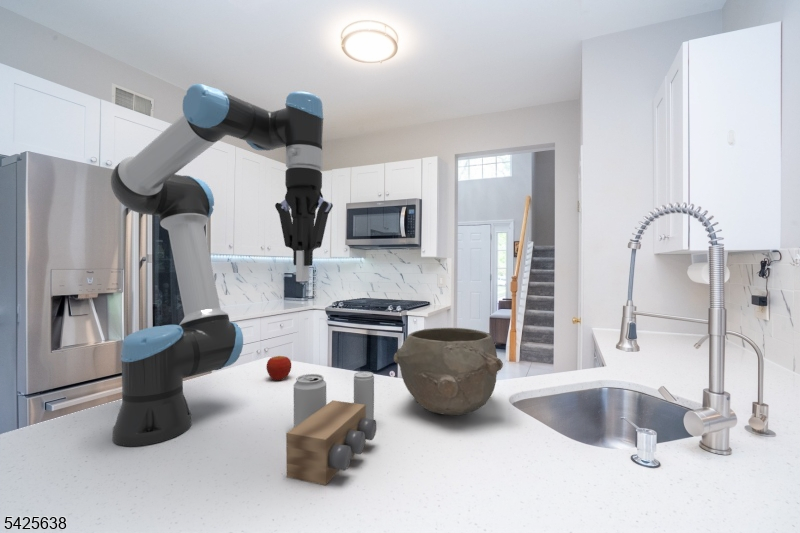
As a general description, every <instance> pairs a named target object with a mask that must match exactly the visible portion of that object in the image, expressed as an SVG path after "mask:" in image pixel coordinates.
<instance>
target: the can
mask: <svg viewBox="0 0 800 533" xmlns="http://www.w3.org/2000/svg"><path fill="white" fill-rule="evenodd" d="M325 405H327V382H326V380H324V376H323V375H322V374H318V373H308V374H307V373H306V374H302V375H300V376H297V377H296V381H295V383H294V384H293V428H294V427H296V426H297V425H298V424H300V423H301V422H303V421H304V420H305V419H307V418H308V417H310V416H311V415H313V414H314V413H315V412H317V411H318V410H320V409H321V408H322V407H324V406H325Z"/></svg>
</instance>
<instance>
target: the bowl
mask: <svg viewBox="0 0 800 533" xmlns="http://www.w3.org/2000/svg"><path fill="white" fill-rule="evenodd" d="M393 361H394V363H396V364H398V365H399V369H400V373H401V378H402V380H403V383H404V385H405V387H406V388H407V391H408V392H409V393H410V394H411V397H412V398H413V399H414V400H415V402H416V403H418V404H419V405H421V407H423V408H425V410H428V411H429V412H432V413H436V414H439V415H447V416H462V415H465V414H469V413H473V412H475V411H477V410H479V409H480V408H482V407H484V406H485V405H486V404H487V403H488V401H489V400H490V399H491V397H492V395H493V393H494V390H495V387H496V383H497V375H498V372H499V371H500V370H502V369H503V366H504V363H503V360H501V358H499V357H498V354H497V349H496V344H495V342H494V338H493V337H492V335H490V334H489V333H488V332H485V331H483V330H477V329H472V328H466V327H465V328H463V327H433V328H424V329H421V330H420V329H419V330H415V331H413V332H411V333H409V334H408V335H407V336H406V338H405V340H404V342H403V343H402V345H401V346H400V348H397V351H396V352H395V353H394V355H393Z"/></svg>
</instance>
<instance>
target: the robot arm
mask: <svg viewBox="0 0 800 533" xmlns="http://www.w3.org/2000/svg"><path fill="white" fill-rule="evenodd" d="M323 110H324V109H323V102H322V99H321V98H320V97H319V96H317V95H315V94H314V93H311V92H308V91H304V90H303V91H299V90H298V91H297V90H296V91H292V92H290V93H289V94H288V95H287V96H286V100H285V108H282V109H278V110H274V111H270V110H267V109H265V108H263V107H259V106H257V105H255V104H252V103H250V102H248V101H245V100H244V99H240V98H238V97H236V96H234V95H231V94H229V93H226V92H224V91H222V90H221V89H219V88H217V87H211V86H208V85H205V84H202V83H195V84H191V86H190V87H188V88H187V90H186V95H184V96H183V100H182V112H183V114H181V116H180V117H178V119H176V120H175V121H174V122H173V123H172V124H170V125H169V126H168V127H167V128H166V129H165V130H163V131H162V132H161V133H160V134H159V135H158V136H157V137H155V138H154V139H153V140H152V141H151V142H150V143H149V144H148V145H146V147H144V148H143V149H142V150H140V151H139V152H138V153H137V154H136V155H135V156H129V157H125V158H124V159H122V160H121V161H120V162H118V164H117V165H116V166H115V167H114V168H113V170H112V173H111V176H110V185H111V186H110V187H111V190H112V192H113V194H114V196H115V197H116V199H117V200H118V201H119V203H121V205H123V206H124V207H125V208H127V209H129V210H130V211H132V212H135V213H138V214H141V215H149V216H156V217H157V216H158V219H159V224H160V227H162V228H163V229H164V230H167V232H168V236H169V242H170V247H171V252H172V257H173V264H174V267H175V273H176V278H177V284H178V288H179V293H180V294H179V295H180V299H181V305H182V310H183V315H184V317H183V319H182V320H181V322H179V324H165V325H161V326H159V325H157V326H152V327H147V328H144V329H143V328H142V329H140V330H136V331H134V332H132V333H130V334H129V335H127V336H126V337H125V338H124V339H123V341H122V347H121V348H122V349H121V355H120V360H121V380H122V381H121V386H122V387H121V392H122V394H121V396H122V398H121V399H122V402H121V406H120V408H119V411H118V414H117V417H116V419H115V420H116V421H115V424H114V425H113V427H112V441H113V443H114V444H115V445H119V446H124V447H139V446H140V447H141V446H148V445H153V444H157V443H161V442H165V441H167V440H170V439H173V438H175V437H179V436H180V435H182V434H183V433H186V431H188V430H189V429H190V428H191V426H192V413H191V410H190V409H189V406H188V402H187V400H186V398H185V394H184V390H183V386H184V385H183V383H184V381H183V379H187V378H189V377H193V376H197V375H201V374H205V373H209V372H213V371H218V370H221V369H224V368H226V367H229V366H231V365H233V364H235V363H236V362H237V361H238V360H239V358H240V355H241V354H242V352H243V347H244V335H243V334H244V333H243V331H242V329H241V327H240V326H239V325H238V323H236V322H235V321H234V322H233V321H231V320H230V316H229V313H227V312H226V311H224V310H223V309H222V308H221V304H220V299H219V295H218V289H217V285H216V280H215V276H214V271H213V265H212V260H211V256H210V251H209V247H208V246H209V245H208V242H207V237H206V232H205V226H206V225H207V223H208V222H209V218H210V217H211V216H212V214H213V212H214V208H213V207H214V206H215V198H214V194H213V192H212V190H211V188H210V186H209V185H208V184H207V183H206V182H205V181H203V180H202V179H199V178H194V177H193V176H191V175H181V174H176V173H178V172H179V171H181V170H182V169H183V168H184V167H186V166H187V165H189V164H190V163H191V162H192V161H194V160H195V159H196V158H198V157H199V156H200V155H202V154H203V153H204V152H206V150H208V149H209V148H210V147H212V146H213V145H214V144H216V143H217V142H219V141H220V140H222V139H223V138H224V137H226V136H230V137H233V138H236V139H239V140H243V141H244V142H246V143H247V144H248V145H249V146H250V147H251V148H252V149H254V150H256V151H274V150H276V149H280V148H284V147H285V167H286V168H287V169H286V170H285V175H284V176H285V181H284V183H285V187H286V193H285V195H284V199H283V200H282V201H281V202H276V203H275V205H274V206H275V209H276V211H277V212H278V216H279V220H280V227H281V230H282V236H283V241H284V242H283V243H284V246H285V248H290V249H291V250H292V251H293V255H292V257H293V258H292V259H293V261H292V262H293V266H295V271H296V272H295V281H296V282H297V283H298V282H300V283H301V282H303V283H304V282H310V267H311V266H313V262H314V261H313V260H314V258H313V256H314V255H313V254H314V253H313V252H314V250H316V249H319V248H321V247H322V244H323V239H324V234H325V230H326V226H327V222H328V217H329V213H330V212H331V211H332V208H333V206H334V205H333V203H332V202H330V201H327V200H326V199H324V195H323V193H322V189H323V173H322V171H321V170H322V169H323V132H324V131H323V129H324V127H323V126H324V112H323ZM290 210H291V211H290ZM316 210H317V212H316Z"/></svg>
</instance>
